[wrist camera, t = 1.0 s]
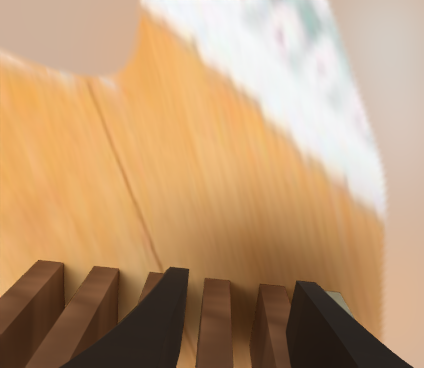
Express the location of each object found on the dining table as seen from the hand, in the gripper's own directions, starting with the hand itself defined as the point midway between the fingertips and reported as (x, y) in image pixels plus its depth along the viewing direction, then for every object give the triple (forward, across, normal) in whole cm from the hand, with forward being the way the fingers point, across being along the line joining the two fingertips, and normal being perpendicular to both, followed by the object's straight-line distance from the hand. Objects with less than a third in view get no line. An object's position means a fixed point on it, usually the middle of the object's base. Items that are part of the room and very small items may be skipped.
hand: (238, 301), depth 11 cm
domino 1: (+9, +11, +8) cm, 17 cm away
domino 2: (+9, +7, +8) cm, 14 cm away
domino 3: (+9, 0, +8) cm, 12 cm away
